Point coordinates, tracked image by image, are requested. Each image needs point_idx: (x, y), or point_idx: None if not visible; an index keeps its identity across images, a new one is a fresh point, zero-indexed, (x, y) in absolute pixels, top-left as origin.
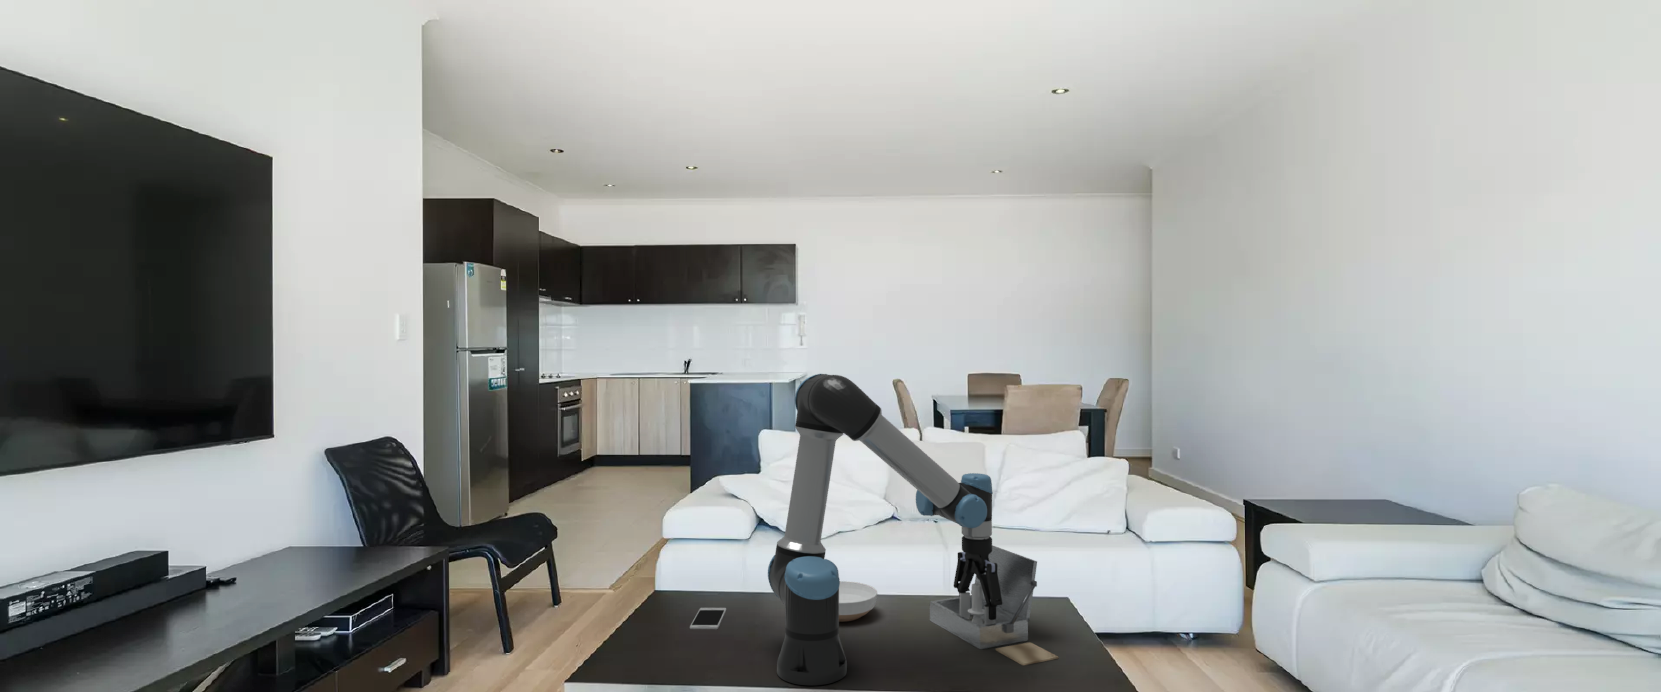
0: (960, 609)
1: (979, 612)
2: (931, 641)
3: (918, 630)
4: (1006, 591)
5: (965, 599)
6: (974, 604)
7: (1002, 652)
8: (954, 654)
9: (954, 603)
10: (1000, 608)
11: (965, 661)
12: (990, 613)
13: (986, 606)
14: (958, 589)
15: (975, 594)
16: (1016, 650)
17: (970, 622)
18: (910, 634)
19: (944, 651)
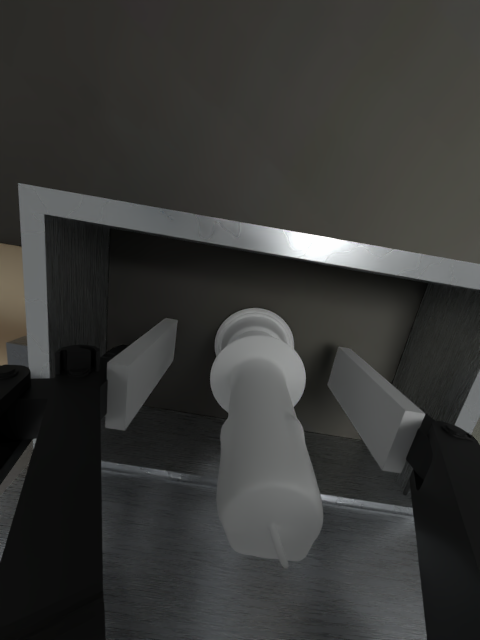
0: (362, 364)
1: (229, 371)
2: (267, 84)
3: (404, 135)
4: (167, 602)
5: (372, 415)
6: (251, 376)
7: (13, 246)
8: (92, 61)
9: (440, 400)
10: (213, 480)
11: (5, 43)
12: (110, 358)
13: (75, 345)
14: (457, 432)
15: (245, 419)
16: (11, 304)
17: (117, 204)
18: (394, 56)
19: (141, 44)
